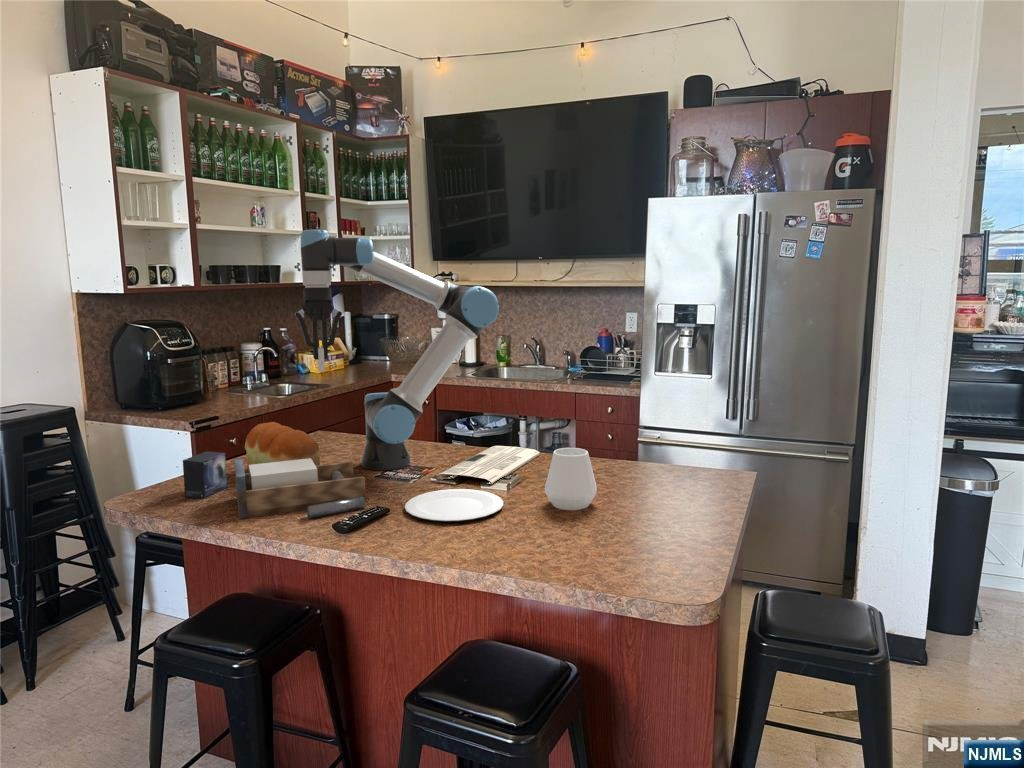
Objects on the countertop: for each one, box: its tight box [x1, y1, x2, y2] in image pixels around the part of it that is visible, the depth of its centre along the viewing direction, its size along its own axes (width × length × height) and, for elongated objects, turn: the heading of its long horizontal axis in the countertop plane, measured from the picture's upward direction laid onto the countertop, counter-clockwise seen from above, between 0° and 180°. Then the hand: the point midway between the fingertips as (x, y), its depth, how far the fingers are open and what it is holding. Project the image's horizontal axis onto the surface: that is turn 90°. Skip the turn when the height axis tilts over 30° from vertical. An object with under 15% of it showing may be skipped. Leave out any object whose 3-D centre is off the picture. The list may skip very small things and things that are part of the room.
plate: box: [404, 488, 504, 523], centre depth 175 cm, size 25×25×2 cm
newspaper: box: [436, 445, 541, 485], centre depth 214 cm, size 37×19×3 cm, turn 156°
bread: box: [244, 421, 322, 473], centre depth 206 cm, size 25×12×15 cm, turn 43°
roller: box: [306, 496, 366, 519], centre depth 172 cm, size 14×3×3 cm, turn 123°
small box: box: [182, 450, 228, 499], centre depth 190 cm, size 11×6×10 cm, turn 168°
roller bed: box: [233, 458, 367, 519], centre depth 183 cm, size 31×18×10 cm, turn 113°
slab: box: [248, 458, 318, 490], centre depth 181 cm, size 16×12×4 cm
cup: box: [544, 447, 598, 511], centre depth 176 cm, size 13×13×14 cm
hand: (321, 370), depth 195 cm, fingers closed
